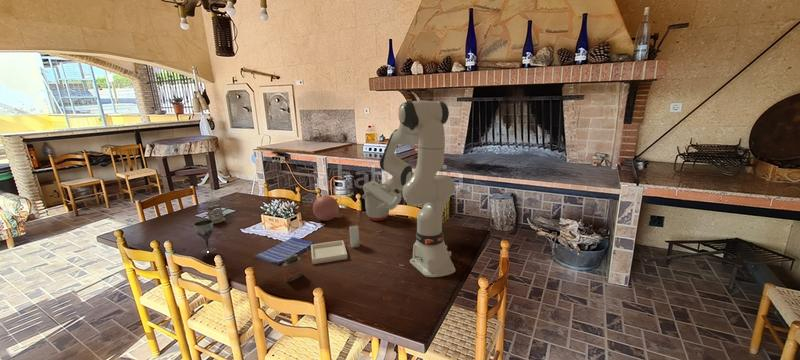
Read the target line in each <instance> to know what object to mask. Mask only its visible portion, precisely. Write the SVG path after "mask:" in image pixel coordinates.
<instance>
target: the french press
mask: <svg viewBox="0 0 800 360" xmlns="http://www.w3.org/2000/svg"><path fill="white" fill-rule="evenodd" d="M212 183H213V182H211V181H208V183H207V184H208V185H209V187H210V189H212V187H211V185H212ZM210 192H211V195H213V191H210ZM220 199H221V198H220V197H218V196H211V197H209V198H207V199H205V200H204V201H205V203H207V204H208V203H209V204H210V203H212V204H210V205H208V206H207V208H206V209H207V211H206V212H207V216H208V220H212V221H213V224H218V223H222V222H224V221H225V220H226V218H225V217H224V214H223V213H224V212H225V211H226V209H227V204H226V202H225V201H222V200H220ZM218 201H219V203H215V202H218ZM214 203H215V204H214ZM221 204H224V210H223V209H222V206H221ZM222 210H223V211H222Z"/></svg>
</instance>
